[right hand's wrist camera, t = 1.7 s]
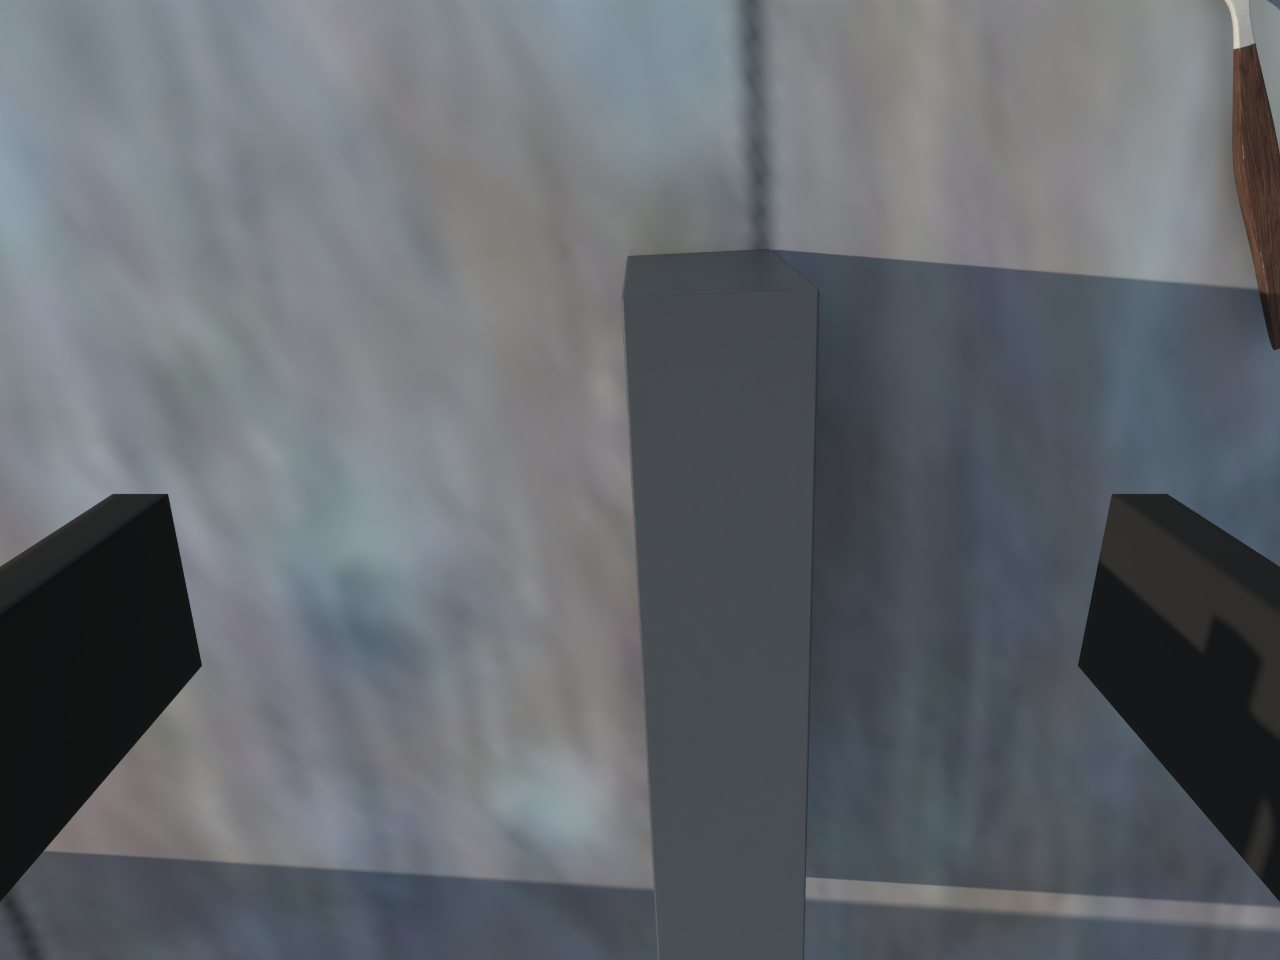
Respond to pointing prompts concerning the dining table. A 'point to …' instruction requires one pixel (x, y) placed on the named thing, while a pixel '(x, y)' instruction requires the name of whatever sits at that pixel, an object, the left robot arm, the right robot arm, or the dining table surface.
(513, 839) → the dining table surface
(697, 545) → the bar
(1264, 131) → the fork
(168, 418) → the dining table surface
